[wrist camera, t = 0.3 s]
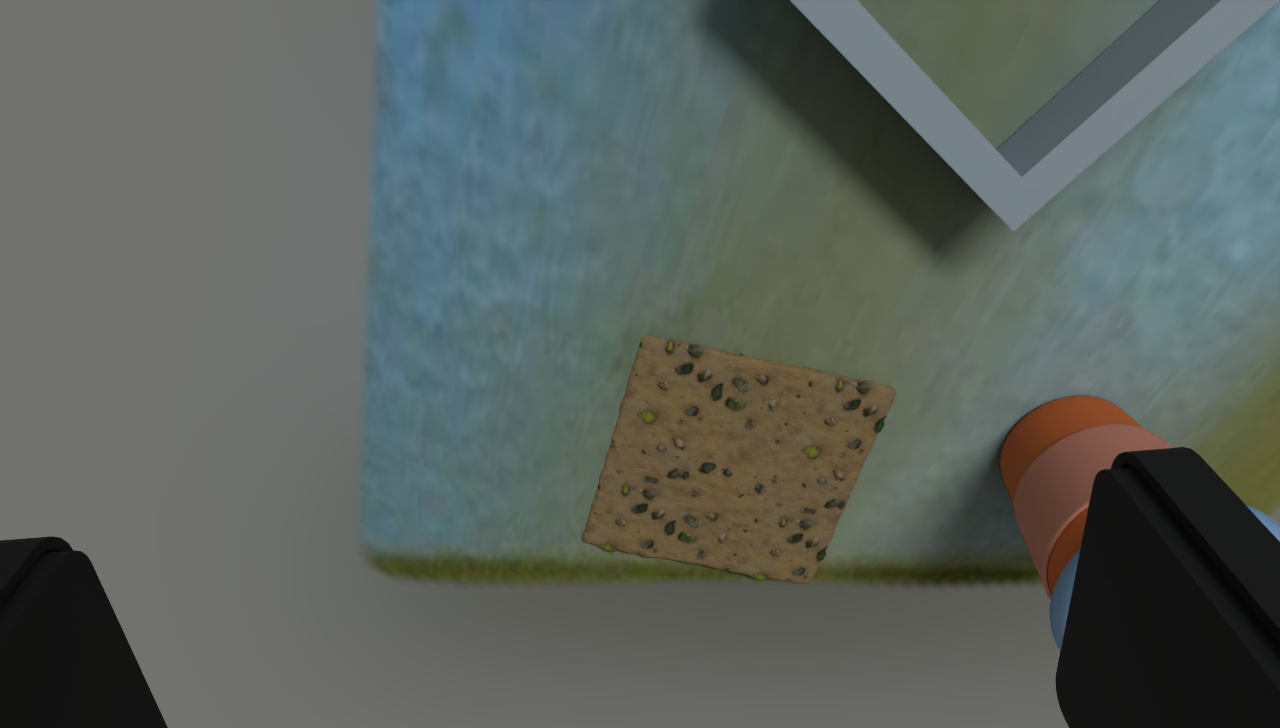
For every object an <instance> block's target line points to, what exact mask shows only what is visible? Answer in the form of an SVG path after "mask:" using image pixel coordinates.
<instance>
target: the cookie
mask: <svg viewBox="0 0 1280 728" xmlns="http://www.w3.org/2000/svg"><path fill="white" fill-rule="evenodd" d="M894 396H895V390H894V389H893V388H891V387H889V386H885V385H880V384H877V383H875V382H873V381H860V380H856V379H852V378H848V377H844V376H837V375H831V374H827V373H825V372H822V371H819V370H813V369H810V368H807V367H798V366H791V365H785V364H781V363H777V362H773V361H768V360H760V359H757V358H753V357H749V356H745V355H743V354H741V353H740V354H739V355H738V354H732V353H729V352H726V351H724V350H719V349H713V348H711V347H709V346H705V345H694V344H690V343H684V342H679V341H676V340H667V339H663V338H657V337H653V336H650V335H644V336H642V339H641V342H640V347H639V349H638V352H637V354H636V358H635V361H634V364H633V366H632V371H631V374H630V377H629V380H628V384H627V387H626V392H625V395H624V397H623V399H622V402H621V405H620V409H619V417H618V420H617V423H616V427H615V431H614V433H613V434H612V440H611V445H610V448H609V450H608V453H607V455H606V459H605V463H604V468H603V470H602V472H601V474H600V478H599V485H598V489H597V491H596V494H595V499H594V501H593V503H592V505H591V511H590V513H589V517H588V521H587V525H586V528H585V531H584V533H583V535H582V541H583V542H586V543H591V544H595V545H597V546H599V547H601V548H603V549H605V550H607V551H610V552H614V551H616V550H619V551H623V552H627V553H634V554H640V555H642V556H644V557H656V558H666V559H669V560H678V561H681V562H683V563H693V564H699V565H705V566H708V567H711V568H715V569H724V570H728V571H731V572H734V573H742V574H746V575H750V576H751V577H753V578H755V579H758V580H762V581H765V580H767V579H772V580H779V581H790V582H792V583H809V582H810V581H811V580H812V578H813V577H814V575H815V573H816V570H817V568H818V565H819V562H820V561H822V560H823V559H824V557H825V555H826V552H825V551H826V548H828V547H827V545H828V543H829V542H830V540H831V539H832V537H833V534H834V530H835V527H836V524H837V522H838V519H839V518H840V516H841V514H842V512H843V510H844V509H845V507H846V504H847V502H848V499H849V497H850V493H851V491H852V489H853V487H854V485H855V483H856V481H857V479H858V476H859V473H860V471H861V468H862V466H863V463H864V461H865V459H866V457H867V456H868V453H869V452H870V450H871V448H872V446H873V444H874V441H875V439H876V436H877V434H878V433H879V432H880V431H881V430H882V428H883V426H884V419H885V417H886V414H887V412H888V411H889V409H890V407H891V406H892V404H893V400H894Z"/></svg>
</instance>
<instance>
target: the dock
mask: <svg viewBox="0 0 1280 728" xmlns="http://www.w3.org/2000/svg"><path fill="white" fill-rule="evenodd" d="M790 1H791V2H792V3H793V4H794V5H795V7H796V8H797V9H798V10H799V11H800V12H801V13H802V14H803V15H804V16H805V17H806V18H807V19H808V20H809V21H810V22H811V23H812V24H813V25H814V26H815V27H816V28H817V29H818V30H819V31H820V32H821V33H822V34H823V36H824V37H825V38H826V39H827V40H828V41H829V42H830V43H831V44H832V45H833V46H834V47H835V48H836V49H837V50H838V51H839V52H840V53H841V54H842V55H843V56H844V57H845V58H846V59H847V60H848V61H849V62H850V63H851V64H852V66H853V67H854V68H855V69H856V70H857V71H858V72H859V73H860V74H861V75H862V76H863V77H864V78H865V79H866V80H867V81H868V82H869V83H870V84H871V85H872V86H873V87H874V88H875V89H876V90H877V91H878V92H879V93H880V95H881V96H882V97H883V98H884V99H885V100H886V101H887V102H888V103H889V104H890V105H891V106H892V107H893V108H894V109H895V110H896V111H897V112H898V113H899V114H900V115H901V116H902V117H903V118H904V119H905V120H906V121H907V122H908V123H909V125H910V126H911V127H912V128H913V129H914V130H915V131H916V132H917V133H918V134H919V135H920V136H921V137H922V138H923V139H924V140H925V141H926V142H927V143H928V144H929V145H930V146H931V147H932V148H933V149H934V150H935V151H936V152H937V154H938V155H939V156H940V157H941V158H942V159H943V160H944V161H945V162H946V163H947V164H948V165H949V166H950V167H951V168H952V169H953V170H954V171H955V172H956V173H957V174H958V175H959V176H960V177H961V178H962V179H963V180H964V181H965V182H966V184H967V185H968V186H969V187H970V188H971V189H972V190H973V191H974V192H975V193H976V194H977V195H978V196H979V197H980V198H981V199H982V200H983V201H984V202H985V203H986V204H987V205H988V206H989V207H990V208H991V209H992V210H993V211H994V212H995V213H996V214H997V215H998V216H999V217H1000V218H1001V219H1002V220H1003V221H1004V223H1005V224H1006V225H1007V226H1008V227H1009V228H1010V229H1011V230H1012V231H1013V232H1014V231H1015V230H1016V229H1017V228H1018V227H1019V226H1021V225H1022V224H1023V223H1024V222H1025V221H1026V220H1027V219H1029V218H1030V217H1031V216H1032V215H1033V214H1034V213H1036V212H1037V211H1038V210H1039V209H1040V208H1041V207H1042V206H1044V205H1045V204H1046V203H1047V202H1048V201H1049V200H1051V199H1052V198H1053V197H1054V196H1055V195H1056V194H1057V193H1059V192H1060V191H1061V190H1062V189H1063V188H1064V187H1066V186H1067V185H1068V184H1069V183H1070V182H1071V181H1072V180H1074V179H1075V178H1076V177H1077V176H1078V175H1079V174H1080V173H1082V172H1083V171H1084V170H1085V169H1086V168H1087V167H1089V166H1090V165H1091V164H1092V163H1093V162H1094V161H1095V160H1097V159H1098V158H1099V157H1100V156H1101V155H1102V154H1104V153H1105V152H1106V151H1107V150H1108V149H1109V148H1110V147H1112V146H1113V145H1114V144H1115V143H1116V142H1117V141H1119V140H1120V139H1121V138H1122V137H1123V136H1124V135H1125V134H1127V133H1128V132H1129V131H1130V130H1131V129H1132V128H1134V127H1135V126H1136V125H1137V124H1138V123H1139V122H1140V121H1142V120H1143V119H1144V118H1145V117H1146V116H1147V115H1148V114H1150V113H1151V112H1152V111H1153V110H1154V109H1155V108H1157V107H1158V106H1159V105H1160V104H1161V103H1162V102H1163V101H1165V100H1166V99H1167V98H1168V97H1169V96H1170V95H1172V94H1173V93H1174V92H1175V91H1176V90H1177V89H1178V88H1180V87H1181V86H1182V85H1183V84H1184V83H1185V82H1187V81H1188V80H1189V79H1190V78H1191V77H1192V76H1193V75H1195V74H1196V73H1197V72H1198V71H1199V70H1200V69H1201V68H1203V67H1204V66H1205V65H1206V64H1207V63H1208V62H1210V61H1211V60H1212V59H1213V58H1214V57H1215V56H1216V55H1218V54H1219V53H1220V52H1221V51H1222V50H1223V49H1225V48H1226V47H1227V46H1228V45H1229V44H1230V43H1231V42H1233V41H1234V40H1235V39H1236V38H1237V37H1238V36H1240V35H1241V34H1242V33H1243V32H1244V31H1245V30H1246V29H1248V28H1249V27H1250V26H1251V25H1252V24H1253V23H1254V22H1256V21H1257V20H1258V19H1259V18H1260V17H1261V16H1263V15H1264V14H1265V13H1266V12H1267V11H1268V10H1269V9H1271V8H1272V7H1273V6H1274V5H1275V4H1276V3H1278V2H1279V1H1280V0H1160V1H1159V2H1158V3H1157V4H1156V5H1155V6H1154V7H1152V8H1151V9H1150V10H1149V11H1148V12H1147V13H1146V14H1145V15H1144V16H1143V17H1141V18H1140V19H1139V20H1138V21H1137V22H1136V23H1135V24H1134V25H1133V26H1132V27H1131V28H1129V29H1128V30H1127V31H1126V32H1125V33H1124V34H1123V35H1122V36H1121V37H1120V38H1118V39H1117V40H1116V41H1115V42H1114V43H1113V44H1112V45H1111V46H1110V47H1109V48H1107V49H1106V50H1105V51H1104V52H1103V53H1102V54H1101V55H1100V56H1099V57H1098V58H1096V59H1095V60H1094V61H1093V62H1092V63H1091V64H1090V65H1089V66H1088V67H1087V68H1086V69H1084V70H1083V71H1082V72H1081V73H1080V74H1079V75H1078V76H1077V77H1076V78H1075V79H1073V80H1072V81H1071V82H1070V83H1069V84H1068V85H1067V86H1066V87H1065V88H1064V89H1062V90H1061V91H1060V92H1059V93H1058V94H1057V95H1056V96H1055V97H1054V98H1053V99H1051V100H1050V101H1049V102H1048V103H1047V104H1046V105H1045V106H1044V107H1043V108H1042V109H1040V110H1039V111H1038V112H1037V113H1036V114H1035V115H1034V116H1033V117H1032V118H1031V119H1030V120H1028V121H1027V122H1026V123H1025V124H1024V125H1023V126H1022V127H1021V128H1020V129H1019V130H1017V131H1016V132H1015V133H1014V134H1013V135H1012V136H1011V137H1010V138H1009V139H1008V140H1006V141H1005V142H1004V143H1003V144H1002V145H1001V146H1000V147H999V148H998V149H997V150H996V149H995V148H994V147H993V146H992V145H991V144H990V143H989V141H988V140H987V139H986V138H985V137H984V136H983V135H982V134H981V133H980V132H979V131H978V130H977V129H976V127H975V126H974V125H973V124H972V123H971V122H970V121H969V120H968V119H967V118H966V117H965V116H964V115H963V114H962V112H961V111H960V110H959V109H958V108H957V107H956V106H955V105H954V104H953V103H952V102H951V101H950V100H949V98H948V97H947V96H946V95H945V94H944V93H943V92H942V91H941V90H940V89H939V88H938V87H937V86H936V85H935V83H934V82H933V81H932V80H931V79H930V78H929V77H928V76H927V75H926V74H925V73H924V72H923V71H922V70H921V68H920V67H919V66H918V65H917V64H916V63H915V62H914V61H913V60H912V59H911V58H910V57H909V56H908V54H907V53H906V52H905V51H904V50H903V49H902V48H901V47H900V46H899V45H898V44H897V43H896V42H895V41H894V39H893V38H892V37H891V36H890V35H889V34H888V33H887V32H886V31H885V30H884V29H883V28H882V27H881V25H880V24H879V23H878V22H877V21H876V20H875V19H874V18H873V17H872V16H871V15H870V14H869V13H868V12H867V10H866V9H865V8H864V7H863V6H862V5H861V4H860V3H859V2H858V1H857V0H790Z"/></svg>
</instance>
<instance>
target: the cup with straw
mask: <svg viewBox="0 0 1280 728" xmlns="http://www.w3.org/2000/svg"><path fill="white" fill-rule="evenodd" d="M1166 448H1172V447H1171V446H1170V445H1169V444H1168V443H1167V442H1166V441H1164V440H1163V439H1162V438H1161V437H1159V436H1158V435H1156V434H1155V433H1153V432H1151V431H1148V430H1146V429H1144V428H1143V427H1142V426H1140V425H1139V424H1138V423H1137V422H1136V421H1135V420H1134V419H1132V418H1131V417H1130V416H1129V415H1128V414H1127V413H1125V412H1124V411H1123V410H1122V409H1121V408H1119V407H1118V406H1116V405H1115V404H1113V403H1111V402H1109V401H1107V400H1104V399H1101V398H1098V397H1092V396H1070V397H1065V398H1061V399H1057V400H1054V401H1051V402H1049V403H1046V404H1044V405H1042V406H1040V407H1038V408H1037V409H1035V410H1033V411H1032V412H1030V413H1029V414H1028V415H1026V416H1025V417H1024V418H1023V419H1022V420H1021V421H1020V422H1019V423H1018V424H1017V425H1016V426H1015V427H1014V428H1013V430H1012V431H1011V432H1010V434H1009V435H1008V437H1007V439H1006V441H1005V443H1004V446H1003V449H1002V452H1001V459H1000V468H1001V473H1002V477H1003V480H1004V482H1005V485H1006V487H1007V489H1008V492H1009V494H1010V497H1011V499H1012V501H1013V504H1014V513H1015V518H1016V521H1017V524H1018V526H1019V529H1020V531H1021V533H1022V536H1023V538H1024V540H1025V543H1026V545H1027V548H1028V550H1029V552H1030V555H1031V557H1032V559H1033V562H1034V564H1035V567H1036V569H1037V571H1038V574H1039V576H1040V578H1041V581H1042V583H1043V585H1044V588H1045V590H1046V593H1047V595H1048V597H1049V598H1050V600H1051V603H1050V623H1051V629H1052V633H1053V636H1054V639H1055V641H1056V643H1057V646H1058V648H1059V649H1060V651H1061V646H1062V641H1063V636H1064V631H1065V626H1066V621H1067V615H1068V610H1069V605H1070V600H1071V595H1072V590H1073V584H1074V579H1075V574H1076V569H1077V564H1078V559H1079V553H1080V548H1081V543H1082V538H1083V533H1084V528H1085V523H1086V517H1087V512H1088V507H1089V502H1090V497H1091V492H1092V486H1093V482H1094V479H1095V476H1096V475H1097V473H1098V472H1099V471H1101V470H1103V469H1111V466H1112V463H1113V461H1114V459H1115V458H1116V457H1117V455H1118V454H1120V453H1123V452H1128V451H1141V450H1153V449H1166ZM1246 506H1247V505H1246ZM1247 507H1248V508H1249V509H1250V510H1251V511H1252V512H1253V513H1254V515H1255V516H1256V517H1257V518H1258V519H1259V520H1260V521H1261V522H1262V523H1263V524H1264V525H1265V526H1266V527H1267V529H1268V530H1269V531H1270V532H1271V533H1272V534H1273V535H1274V536H1275V537H1276V538H1277V539H1278V540H1279V541H1280V525H1279V524H1277V523H1276V522H1275V521H1274V520H1273V519H1271V518H1270V517H1268V516H1267V515H1265V514H1264V513H1262V512H1260V511H1258V510H1256V509H1254V508H1252V507H1250V506H1247Z"/></svg>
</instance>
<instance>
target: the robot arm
mask: <svg viewBox="0 0 1280 728" xmlns="http://www.w3.org/2000/svg"><path fill="white" fill-rule="evenodd" d="M1056 691H1057V697H1058V701H1059V705H1060V708H1061V711H1062V713H1063V716H1064V718H1065V720H1066V722H1067V724H1068V726H1069V728H1280V541H1279V540H1278V539H1277V538H1276V537H1275V536H1274V535H1273V534H1272V533H1271V532H1270V531H1269V530H1268V529H1267V527H1266V526H1265V525H1264V524H1263V523H1262V522H1261V521H1260V520H1259V519H1258V518H1257V517H1256V516H1255V515H1254V513H1253V512H1252V511H1251V510H1250V509H1249V508H1248V507H1247V506H1246V505H1245V504H1244V503H1243V502H1242V501H1241V499H1240V498H1239V497H1238V496H1237V495H1236V494H1235V493H1234V492H1233V491H1232V490H1231V489H1230V488H1229V487H1228V486H1227V484H1226V483H1225V482H1224V481H1223V480H1222V479H1221V478H1220V477H1219V476H1218V475H1217V474H1216V473H1215V472H1214V470H1213V469H1212V468H1211V467H1210V466H1209V465H1208V464H1207V463H1206V462H1205V461H1204V460H1203V459H1202V458H1201V456H1200V455H1198V454H1197V453H1196V452H1194V451H1193V450H1192V449H1189V448H1185V447H1179V448H1166V449H1153V450H1141V451H1128V452H1123V453H1120V454H1118V455H1117V457H1116V458H1115V459H1114V461H1113V463H1112V466H1111V469H1103V470H1101V471H1099V472H1098V473H1097V475H1096V476H1095V479H1094V482H1093V486H1092V492H1091V497H1090V502H1089V507H1088V512H1087V517H1086V523H1085V528H1084V533H1083V538H1082V543H1081V548H1080V553H1079V559H1078V564H1077V569H1076V574H1075V579H1074V584H1073V590H1072V595H1071V600H1070V605H1069V610H1068V615H1067V621H1066V626H1065V631H1064V636H1063V641H1062V646H1061V652H1060V657H1059V662H1058V667H1057V672H1056ZM0 728H167V726H166V723H165V721H164V719H163V717H162V714H161V712H160V710H159V708H158V706H157V704H156V701H155V699H154V697H153V695H152V693H151V691H150V688H149V686H148V685H147V682H146V680H145V678H144V675H143V674H142V671H141V669H140V667H139V665H138V663H137V660H136V658H135V656H134V654H133V652H132V650H131V647H130V645H129V643H128V641H127V639H126V637H125V634H124V632H123V630H122V628H121V626H120V624H119V621H118V619H117V617H116V615H115V613H114V611H113V608H112V606H111V604H110V602H109V600H108V598H107V595H106V593H105V591H104V589H103V587H102V585H101V583H100V580H99V578H98V576H97V574H96V572H95V570H94V567H93V565H92V563H91V561H90V560H89V558H88V557H87V555H85V554H84V553H83V552H81V551H73V549H72V548H71V547H70V545H69V544H68V543H67V542H66V541H64V540H63V539H61V538H58V537H41V538H28V539H16V540H3V541H0Z"/></svg>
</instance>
